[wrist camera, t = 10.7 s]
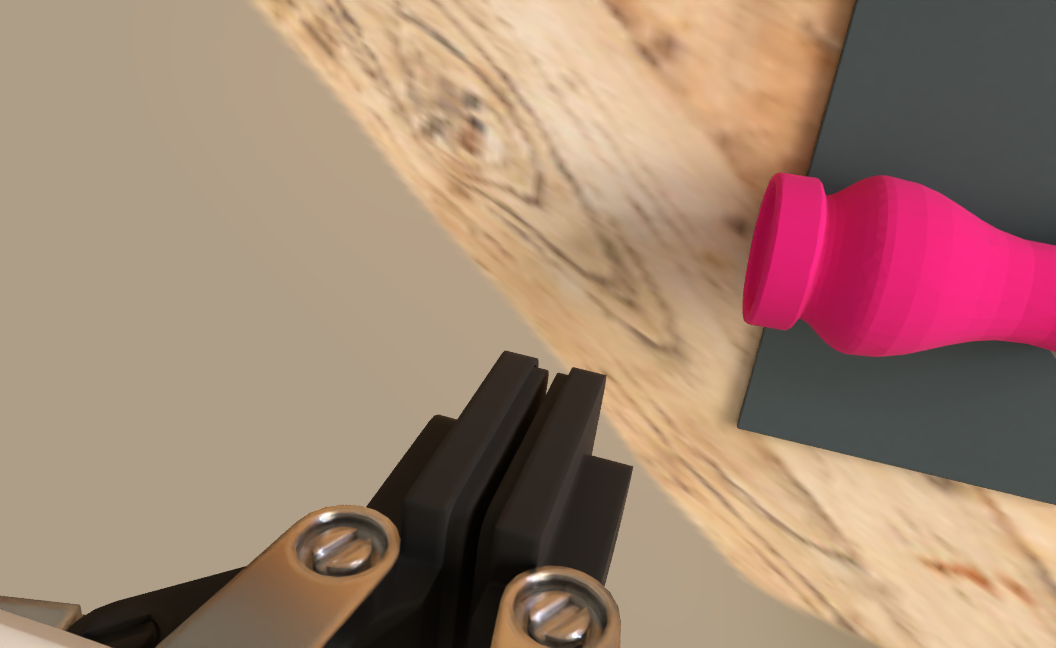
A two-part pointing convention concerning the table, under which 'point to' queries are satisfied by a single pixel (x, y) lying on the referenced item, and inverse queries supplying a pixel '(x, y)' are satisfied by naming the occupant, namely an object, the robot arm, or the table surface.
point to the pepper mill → (893, 270)
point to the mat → (967, 179)
